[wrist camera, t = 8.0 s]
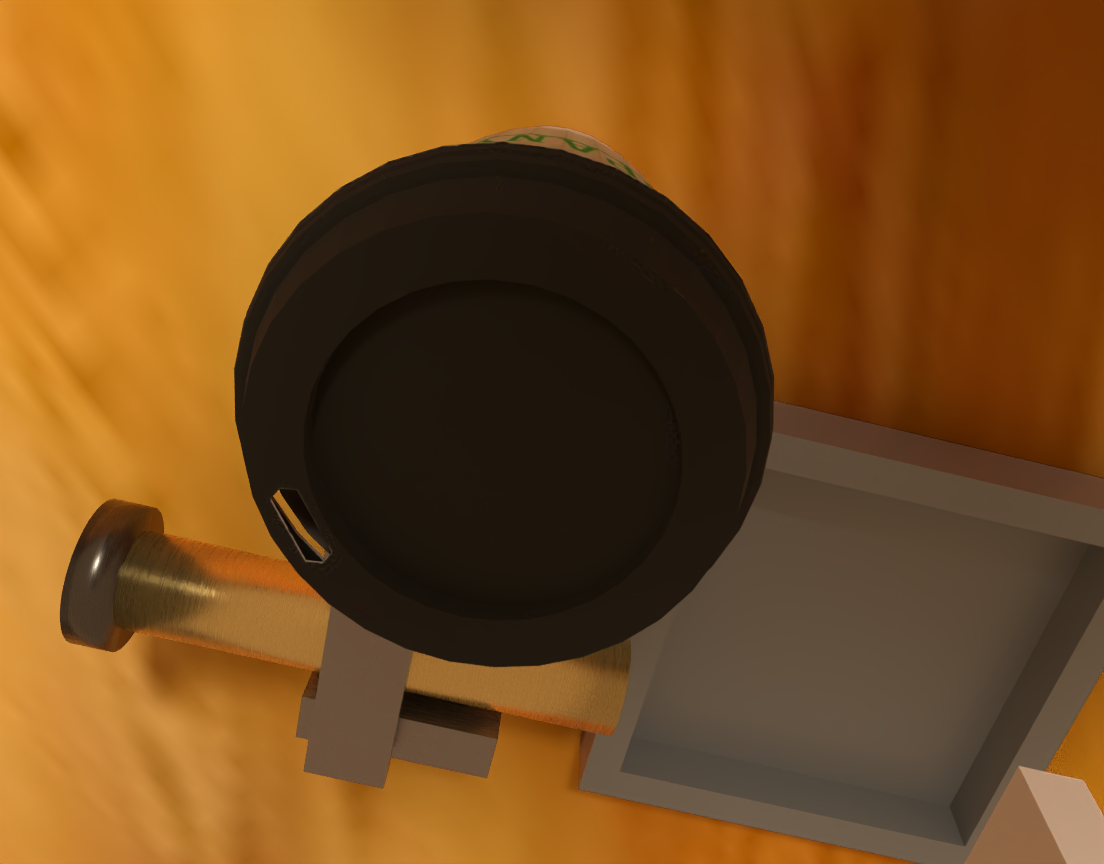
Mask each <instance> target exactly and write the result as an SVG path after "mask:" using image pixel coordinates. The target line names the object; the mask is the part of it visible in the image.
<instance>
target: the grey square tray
mask: <svg viewBox="0 0 1104 864" xmlns="http://www.w3.org/2000/svg"><path fill="white" fill-rule="evenodd" d="M630 641H631V664H630V672H629V678H628V684H627V690H626V694H625V699H624V703H623V707H622V711H621V714H620V717H619V721H618V723H617V726H616V728H615V730H614V732H613V734H612V735H611V736H606V735H602V734H597V733H593V732H588V731H583V734H582V737H581V741H580V762H579V784H578V789H579V790H584V791H588V792H593V793H598V794H602V795H607V796H612V797H616V798H621V799H625V800H630V801H635V802H639V803H644V804H648V805H653V806H658V807H662V808H667V809H671V810H676V811H681V812H685V813H690V814H694V815H699V816H704V817H708V818H713V819H717V820H722V821H727V822H731V823H736V824H741V825H745V826H750V827H754V828H759V829H764V830H768V831H773V832H777V833H782V834H787V835H791V836H796V837H800V838H805V839H810V840H814V841H819V842H823V843H828V844H833V845H837V846H842V847H846V848H851V849H856V850H860V851H865V852H870V853H874V854H879V855H883V856H888V857H893V858H897V859H902V860H906V861H911V862H916V863H920V864H964V863H965V861H966V859H967V857H968V856H969V854H970V852H971V850H972V848H973V847H974V845H975V843H976V841H977V839H978V838H979V836H980V834H981V832H982V831H983V829H984V827H985V825H986V823H987V822H988V820H989V818H990V816H991V814H992V813H993V811H994V809H995V807H996V805H997V804H998V802H999V800H1000V798H1001V796H1002V795H1003V793H1004V791H1005V789H1006V787H1007V786H1008V784H1009V782H1010V780H1011V779H1012V777H1013V775H1014V773H1015V771H1016V770H1017V768H1018V766H1022V767H1026V768H1031V769H1035V770H1040V771H1046V769H1047V767H1048V765H1049V764H1050V762H1051V760H1052V758H1053V757H1054V755H1055V753H1056V752H1057V750H1058V748H1059V746H1060V745H1061V743H1062V741H1063V739H1064V738H1065V736H1066V734H1067V733H1068V731H1069V729H1070V727H1071V726H1072V724H1073V722H1074V720H1075V719H1076V717H1077V715H1078V714H1079V712H1080V710H1081V708H1082V707H1083V705H1084V703H1085V701H1086V700H1087V698H1088V696H1089V695H1090V693H1091V691H1092V689H1093V688H1094V686H1095V684H1096V683H1097V681H1098V679H1099V677H1100V676H1101V674H1102V672H1103V670H1104V478H1099V477H1095V476H1091V475H1087V474H1082V473H1078V472H1074V471H1070V470H1066V469H1061V468H1057V467H1053V466H1049V465H1044V464H1040V463H1036V462H1032V461H1028V460H1023V459H1019V458H1015V457H1011V456H1006V455H1002V454H998V453H994V452H989V451H985V450H981V449H977V448H973V447H968V446H964V445H960V444H956V443H951V442H947V441H943V440H939V439H934V438H930V437H926V436H922V435H918V434H913V433H909V432H905V431H901V430H896V429H892V428H888V427H884V426H880V425H875V424H871V423H867V422H863V421H858V420H854V419H850V418H846V417H841V416H837V415H833V414H829V413H825V412H820V411H816V410H812V409H808V408H803V407H799V406H795V405H791V404H786V403H782V402H778V401H774V427H773V433H772V440H771V445H770V449H769V453H768V458H767V462H766V466H765V471H764V475H763V479H762V484H761V486H760V488H759V490H758V493H757V495H756V497H755V499H754V501H753V503H752V505H751V508H750V510H749V512H748V514H747V516H746V518H745V520H744V522H743V525H742V527H741V528H740V530H739V532H738V533H737V534H736V536H735V537H734V538H733V540H732V541H731V542H730V544H729V545H728V546H727V548H726V549H725V550H724V552H723V553H722V554H721V556H720V557H719V558H718V560H717V561H716V562H715V564H714V565H713V566H712V568H710V569H709V570H708V571H707V572H706V574H705V575H704V576H703V578H702V579H701V580H700V582H699V583H698V584H697V586H696V587H695V588H694V590H693V591H692V592H691V593H690V594H688V595H687V596H686V597H685V598H684V599H683V600H682V601H681V602H679V603H678V604H677V605H676V606H675V607H674V608H673V609H672V610H671V611H669V612H668V613H667V614H666V615H665V616H664V617H663V618H662V619H660V620H659V621H657V622H655V623H654V624H652V625H650V626H649V627H647V628H645V629H644V630H642V631H640V632H639V633H637V634H635V635H634V636H632V637H630Z"/></svg>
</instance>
